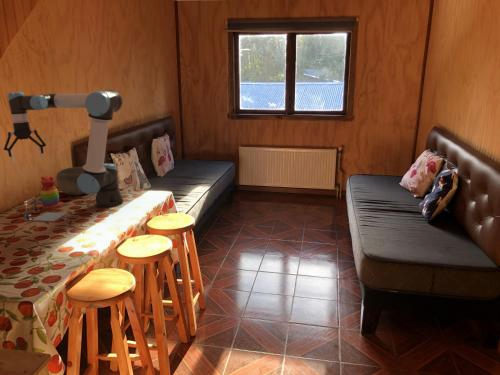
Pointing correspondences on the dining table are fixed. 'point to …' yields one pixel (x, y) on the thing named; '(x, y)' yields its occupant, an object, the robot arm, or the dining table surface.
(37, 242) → the dining table surface
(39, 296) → the dining table surface
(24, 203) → the miniature post railing
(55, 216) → the mat
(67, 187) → the bowl
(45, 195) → the stacking bear
